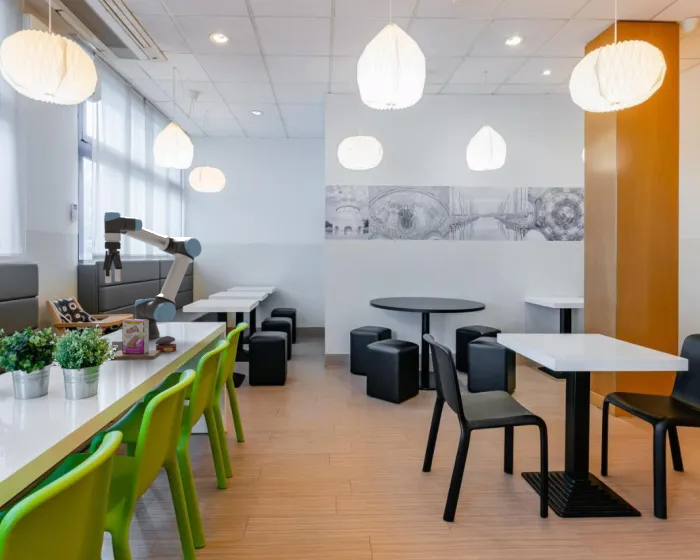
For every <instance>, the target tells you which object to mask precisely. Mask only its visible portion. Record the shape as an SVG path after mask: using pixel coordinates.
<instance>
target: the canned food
mask: <svg viewBox="0 0 700 560" xmlns="http://www.w3.org/2000/svg"><path fill="white" fill-rule="evenodd" d="M175 341H176V338H175V337H173V336H171V335H165V336H160V337H159V339H158V340H156V342H155V343H154V344H155V350H161V353H160V354H162V353H163V354H164V353H165V354H166V353H167V352H168V353H174V352H176V351H177V344H176V343H173V342H175ZM166 343H171V344H166Z"/></svg>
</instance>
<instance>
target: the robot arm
mask: <svg viewBox="0 0 700 560" xmlns="http://www.w3.org/2000/svg"><path fill="white" fill-rule="evenodd" d="M103 220H104V221H103V223H104V228H103V229H104V235H103V238H104V241H105V242H104V249H105V255H104V261H103V267H102V271H104V274H105V275H104V279H105V280H104V283H106V284H112V269H111V268H112V267H113V266H114V268H115V269H114V282H121V281H122V280H121V270H123V265H122V260H121V259H122V258H121V253H120V250H121V247H122V245H121V244H122V243H121V240H122V239H121V238H122V237H121V235H124V236H127V237H130V238H132V239H135V240H137V241H141V242H143V243H145V244H148V245H151V246H153V247H156V248H158V250H160V251H162V252H163V253H167V254H169V255H172V256H174V260H173V263H172V265H171V267H170V269H169V271H168V274H167V275H166V279H165V281H164V283H163V285H162V288H161V290H160V292H159V294H158V295H155V297H154V298H152V297H151V298H145V299H144V298H143V299H136V300H135V303H134V317H135V318H134V319H141V320H149V340H153V339H158V338H161V335H160V334H161V333H160V330H159V327H158V323H168V322H170V321H171V320H173V319H174V318H175V316H176V313H177V310H176V301H175V298H176V296H177V293H178V292H179V289H180V286H181V284H182V283H183V282H182V281H183V279H184V276H185V274H186V272H187V270H188V267H189V265H190V264H191V263H193V262H194V260H195V258H197V257H199V256H200V255H201V253H202V245H201V242H200V241H199V239H197V238H195V237H190V236H188V237H176V236H174V237H173V236H172V237H171V236H169V235H162V234H159V233H157V232H154V231H152V230H149V229H148V228H147V229H146V228H144V227H143V221H142V219H141V218H139V217H134V216H133V217H130V216H122V215H121V213H120V212H118V211H106V212H104V218H103ZM113 264H114V265H113ZM112 265H113V266H112ZM157 322H158V323H157Z"/></svg>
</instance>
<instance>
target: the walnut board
mask: <svg viewBox="0 0 700 560" xmlns="http://www.w3.org/2000/svg"><path fill="white" fill-rule="evenodd" d="M114 353H115V356H114V359H113V360H116V361H121V360H126V361H127V360H154V359H155V358H157V357H158V356H159V355H160V354H162V353H161V350H156V349H154V350H153V349H149V352H148V353H146V354H124V353H122V351H115V352H114ZM113 360H112V361H113Z"/></svg>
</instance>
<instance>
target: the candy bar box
mask: <svg viewBox="0 0 700 560" xmlns="http://www.w3.org/2000/svg"><path fill="white" fill-rule="evenodd" d="M121 325H122V327H121V328H122V330H121V331H122V332H121V333H122V339H121V340H122V353H124V354H146V353H148V352H149V350H150V347H149V346H150V341H149V340H150V339H149V320H141V319H135V318H127V319H123V320H122V321H121Z"/></svg>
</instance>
